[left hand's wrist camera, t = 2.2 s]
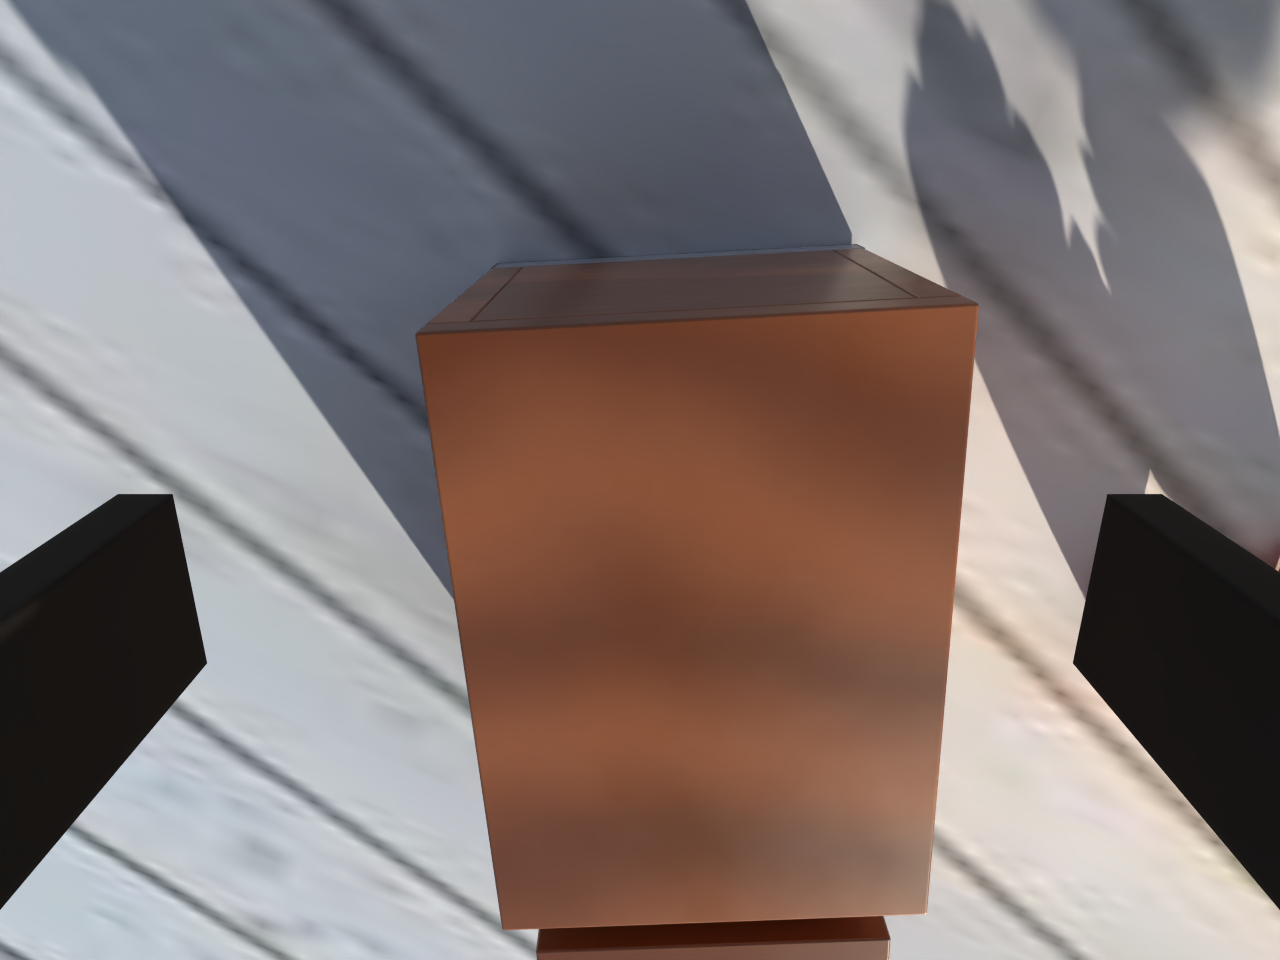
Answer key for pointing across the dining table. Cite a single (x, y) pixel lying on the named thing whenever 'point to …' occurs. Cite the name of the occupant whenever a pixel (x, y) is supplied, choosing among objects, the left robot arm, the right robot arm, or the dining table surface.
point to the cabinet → (704, 576)
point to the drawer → (723, 940)
